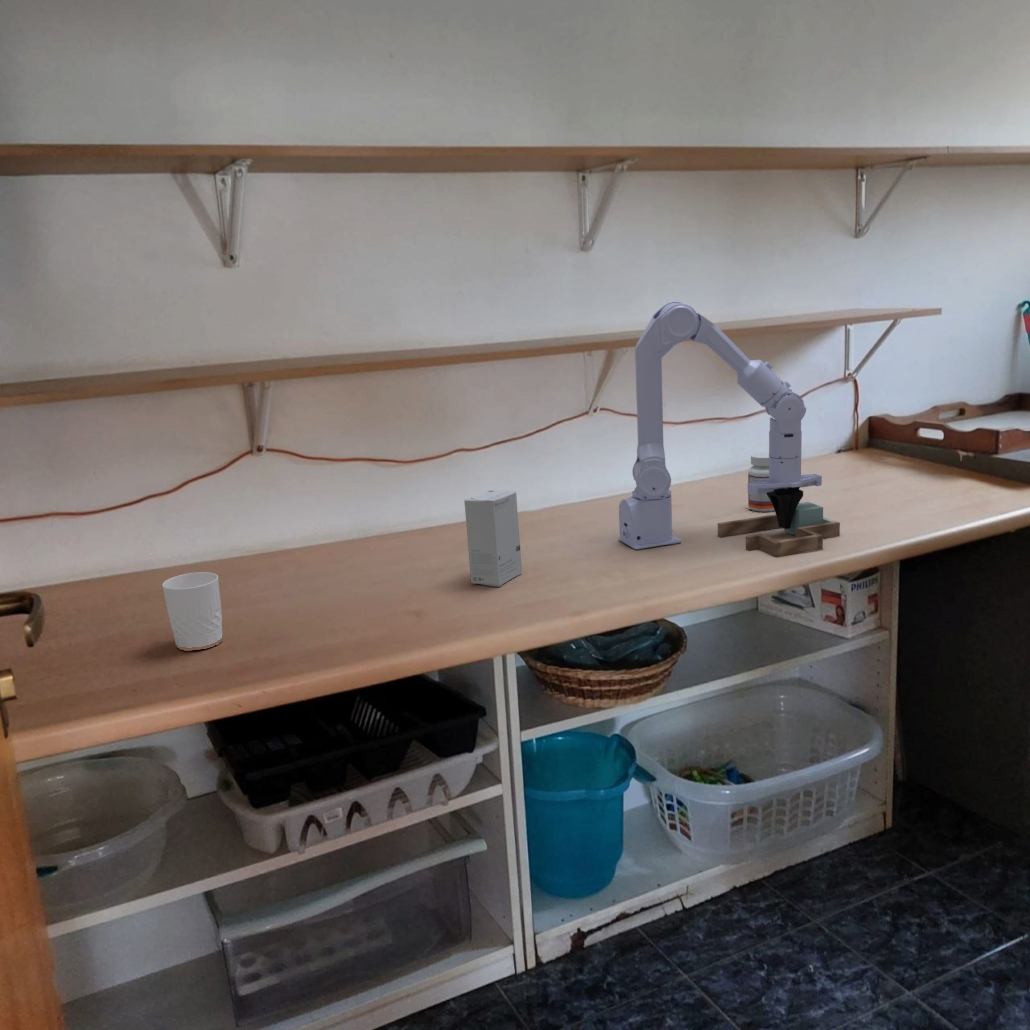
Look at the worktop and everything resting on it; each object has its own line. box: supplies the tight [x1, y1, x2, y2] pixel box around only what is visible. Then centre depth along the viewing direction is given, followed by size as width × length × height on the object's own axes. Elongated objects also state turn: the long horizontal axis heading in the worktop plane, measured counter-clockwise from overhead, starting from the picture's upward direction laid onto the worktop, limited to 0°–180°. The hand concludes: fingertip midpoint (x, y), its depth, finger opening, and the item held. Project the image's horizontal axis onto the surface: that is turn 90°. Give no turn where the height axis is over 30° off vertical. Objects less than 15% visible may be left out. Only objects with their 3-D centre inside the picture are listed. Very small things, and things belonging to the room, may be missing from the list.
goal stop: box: [823, 516, 836, 523], centre depth 183 cm, size 1×9×2 cm, turn 18°
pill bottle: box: [747, 452, 775, 513], centre depth 199 cm, size 6×6×11 cm
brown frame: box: [717, 513, 841, 558], centre depth 178 cm, size 19×16×2 cm
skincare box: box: [463, 490, 523, 588], centre depth 165 cm, size 8×6×15 cm
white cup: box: [161, 571, 224, 648], centre depth 144 cm, size 8×8×10 cm
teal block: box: [783, 501, 824, 537], centre depth 182 cm, size 5×5×5 cm
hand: (784, 527), depth 181 cm, fingers closed
